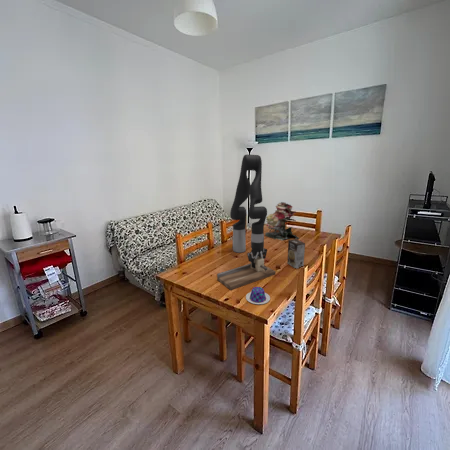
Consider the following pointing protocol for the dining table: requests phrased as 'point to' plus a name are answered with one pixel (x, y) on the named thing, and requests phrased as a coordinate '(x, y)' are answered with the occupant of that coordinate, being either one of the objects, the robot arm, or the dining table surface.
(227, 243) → the dining table surface
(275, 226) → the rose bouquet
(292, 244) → the coffee box
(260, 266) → the block
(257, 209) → the robot arm
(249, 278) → the walnut board
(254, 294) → the pudding
